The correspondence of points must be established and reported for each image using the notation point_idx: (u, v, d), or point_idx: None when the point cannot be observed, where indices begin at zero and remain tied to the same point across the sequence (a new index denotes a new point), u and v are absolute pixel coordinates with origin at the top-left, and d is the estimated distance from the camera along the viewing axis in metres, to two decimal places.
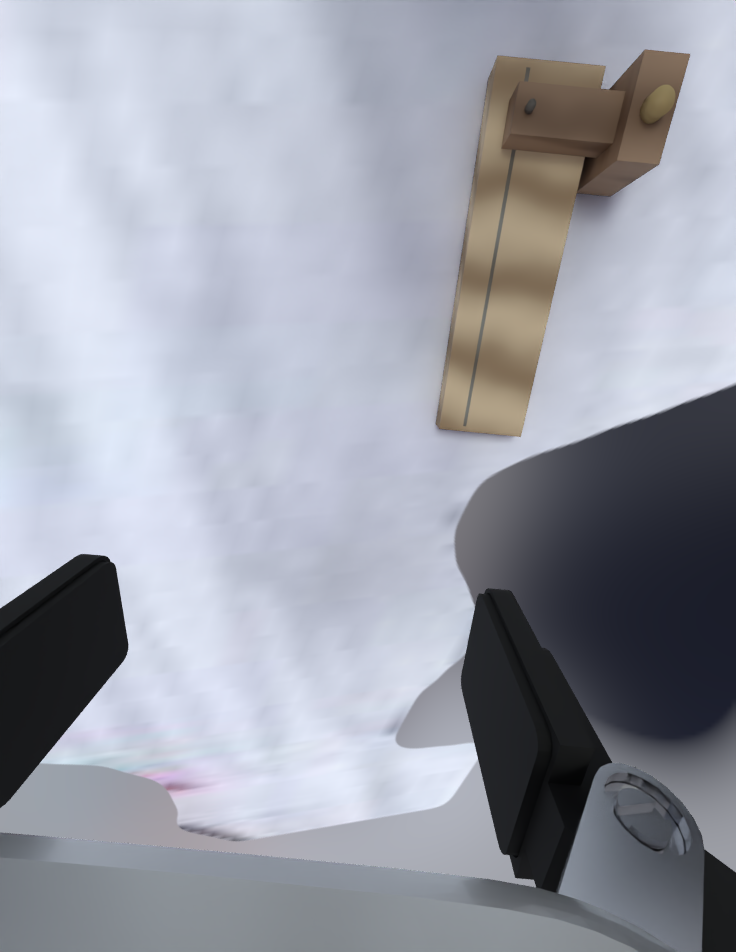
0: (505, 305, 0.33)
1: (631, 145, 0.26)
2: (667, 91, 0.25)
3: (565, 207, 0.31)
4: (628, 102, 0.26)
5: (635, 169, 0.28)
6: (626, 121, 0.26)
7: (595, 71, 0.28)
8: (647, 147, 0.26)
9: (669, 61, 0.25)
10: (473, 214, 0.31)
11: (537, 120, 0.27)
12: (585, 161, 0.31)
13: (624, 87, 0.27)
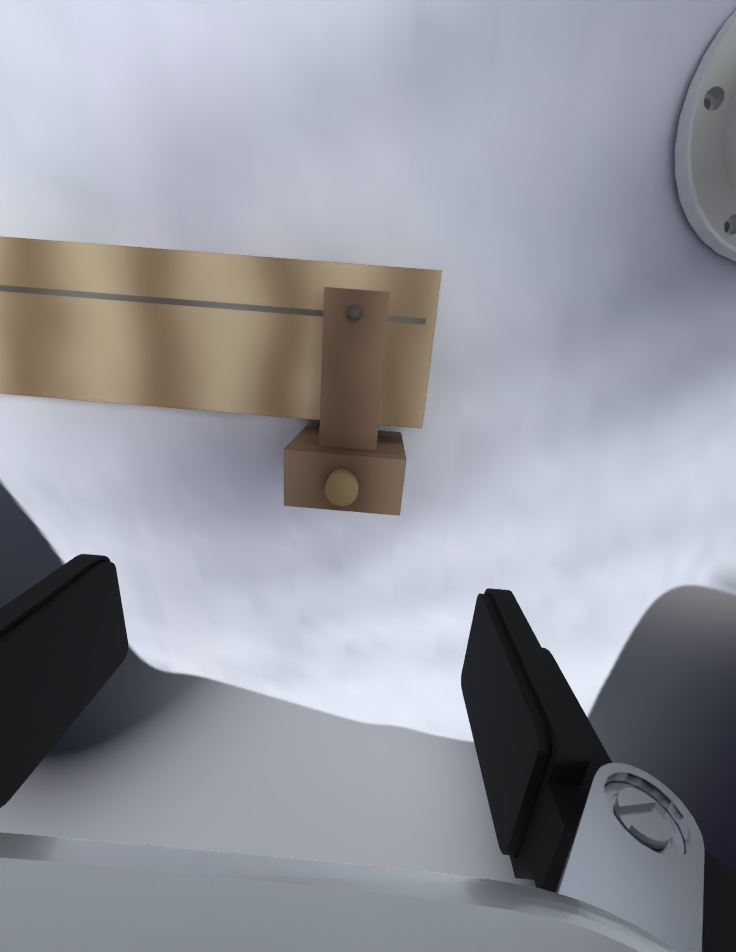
0: (124, 331, 0.20)
1: (302, 465, 0.19)
2: (350, 494, 0.18)
3: (265, 404, 0.21)
4: (355, 453, 0.19)
5: None
6: (329, 453, 0.19)
7: (417, 416, 0.21)
8: (301, 486, 0.19)
9: (393, 492, 0.19)
10: (242, 256, 0.19)
11: (341, 329, 0.18)
12: None
13: (384, 449, 0.20)
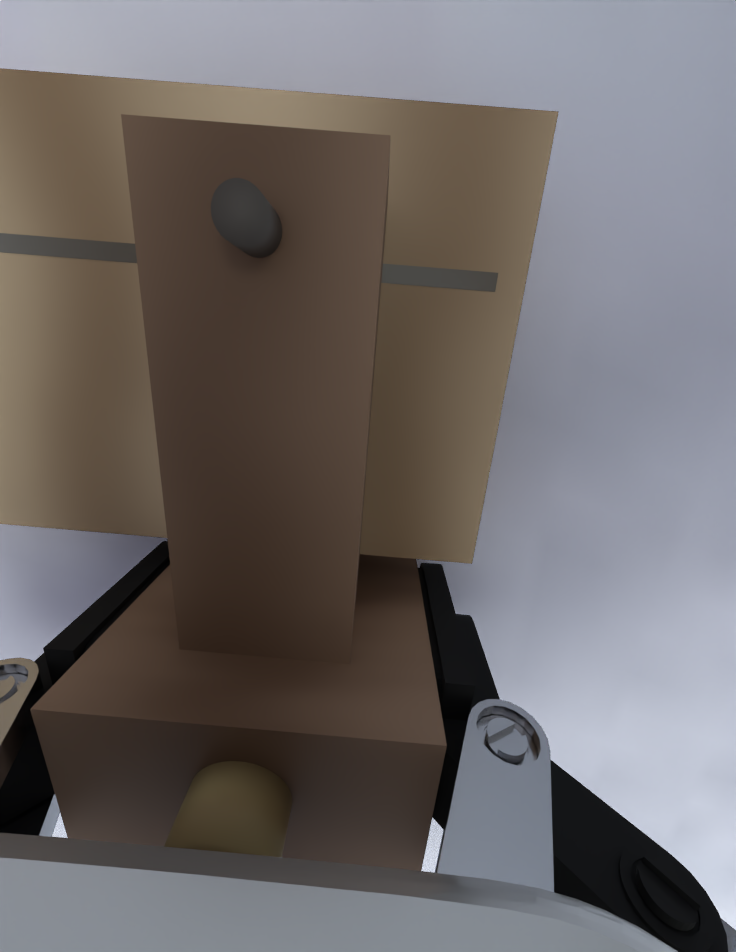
0: None
1: (102, 750, 0.06)
2: None
3: (68, 504, 0.08)
4: (279, 701, 0.06)
5: None
6: (187, 718, 0.05)
7: (460, 535, 0.08)
8: (110, 800, 0.06)
9: (401, 822, 0.06)
10: None
11: (211, 296, 0.05)
12: None
13: (372, 650, 0.07)
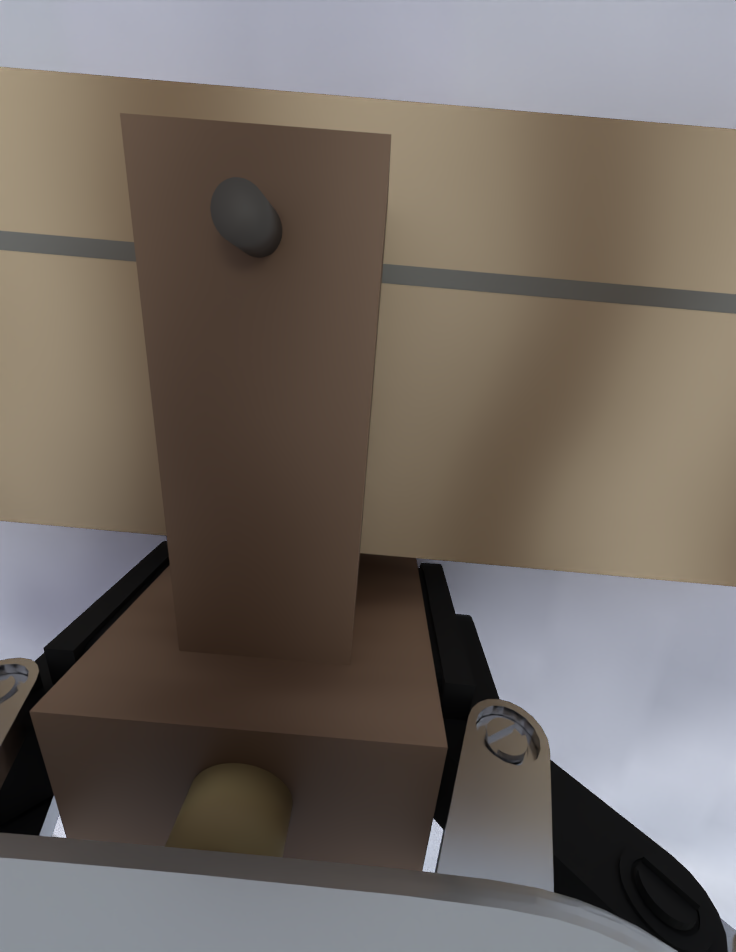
0: (88, 347, 0.07)
1: (102, 752, 0.06)
2: None
3: (458, 536, 0.08)
4: (279, 702, 0.06)
5: None
6: (188, 720, 0.05)
7: None
8: (110, 802, 0.06)
9: (402, 824, 0.06)
10: (463, 113, 0.06)
11: (211, 296, 0.05)
12: None
13: (373, 650, 0.07)
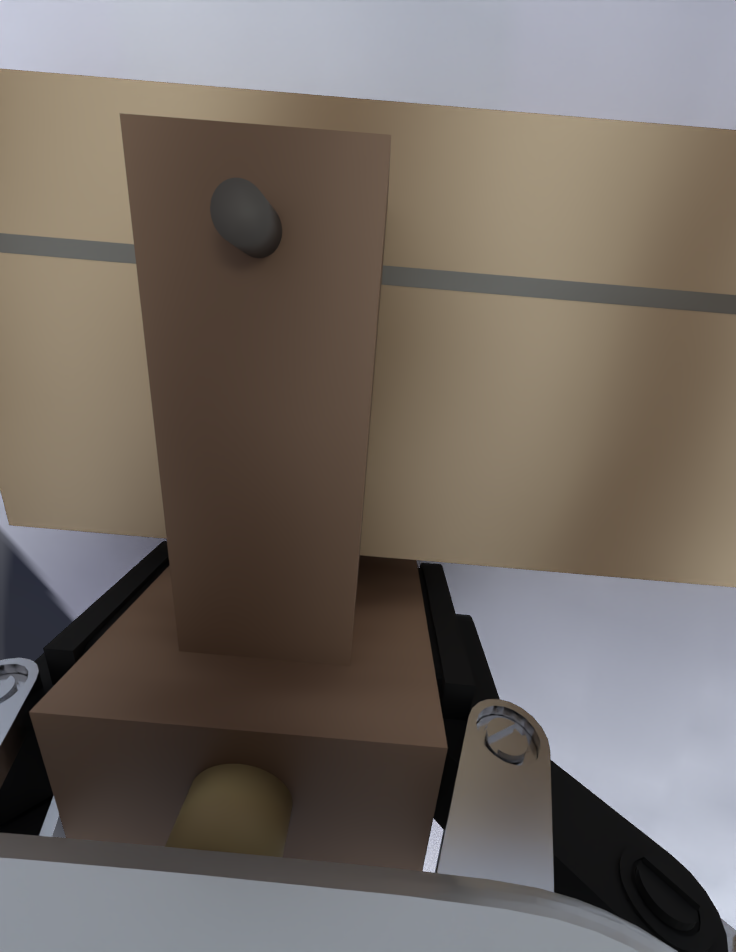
0: (564, 390, 0.07)
1: (101, 753, 0.06)
2: None
3: None
4: (279, 703, 0.06)
5: None
6: (187, 721, 0.05)
7: None
8: (110, 803, 0.06)
9: (401, 824, 0.06)
10: None
11: (210, 296, 0.05)
12: None
13: (373, 651, 0.07)
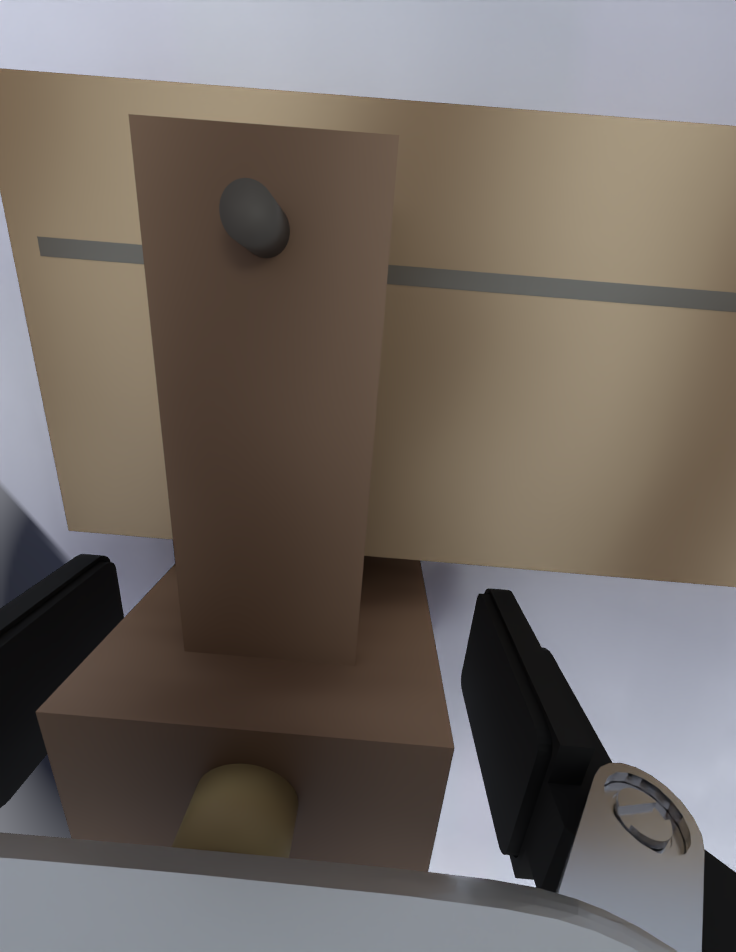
0: (635, 395, 0.07)
1: (107, 752, 0.06)
2: None
3: None
4: (285, 703, 0.06)
5: None
6: (194, 720, 0.05)
7: None
8: (115, 803, 0.06)
9: (407, 825, 0.06)
10: None
11: (218, 296, 0.05)
12: None
13: (378, 651, 0.07)
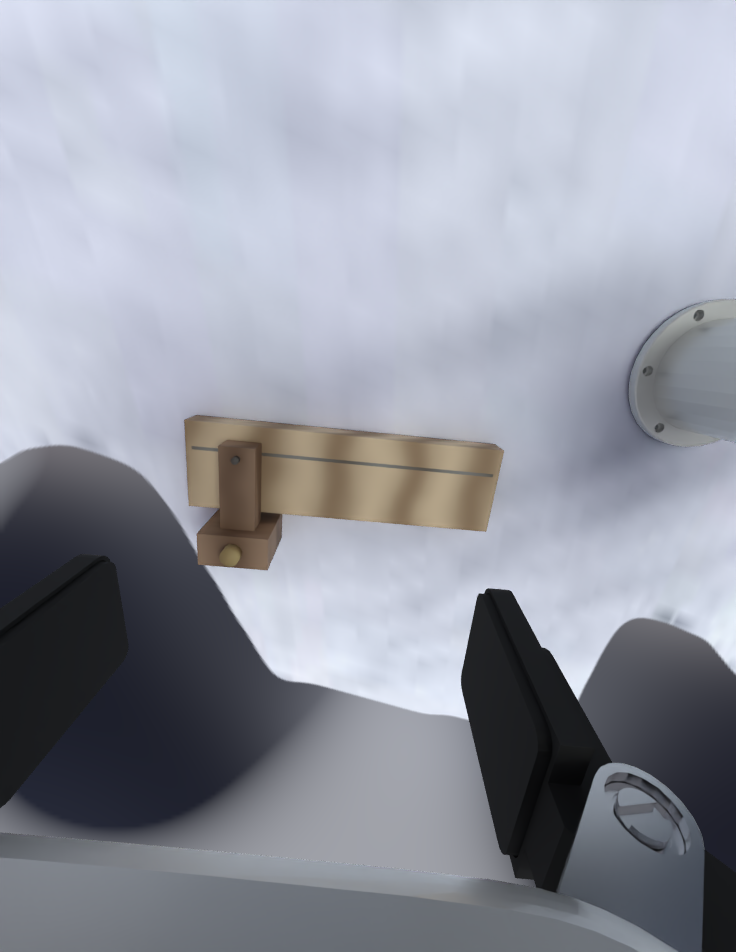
0: (315, 477, 0.34)
1: (208, 542, 0.32)
2: (234, 560, 0.32)
3: (394, 517, 0.36)
4: (239, 534, 0.33)
5: None
6: (223, 535, 0.32)
7: (483, 525, 0.36)
8: (208, 554, 0.33)
9: (262, 557, 0.33)
10: (392, 440, 0.33)
11: (229, 467, 0.31)
12: None
13: (260, 529, 0.34)
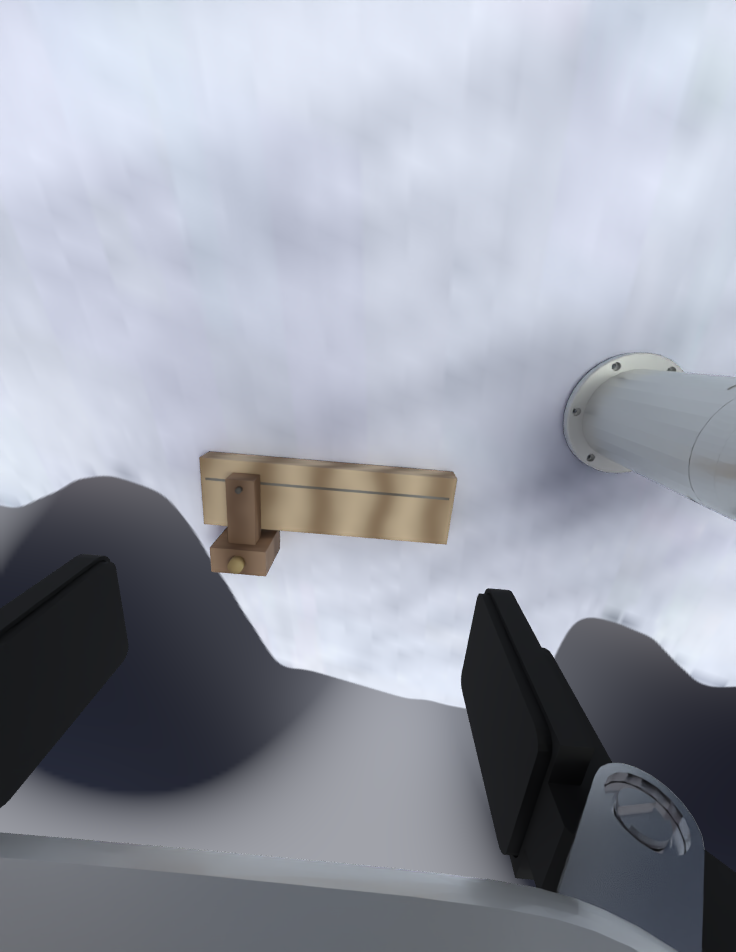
0: (303, 501, 0.42)
1: (218, 554, 0.41)
2: (239, 568, 0.40)
3: (369, 533, 0.43)
4: (243, 548, 0.41)
5: None
6: (230, 549, 0.41)
7: (444, 539, 0.43)
8: (219, 563, 0.41)
9: (261, 566, 0.41)
10: (364, 471, 0.41)
11: (234, 495, 0.40)
12: None
13: (260, 543, 0.42)
